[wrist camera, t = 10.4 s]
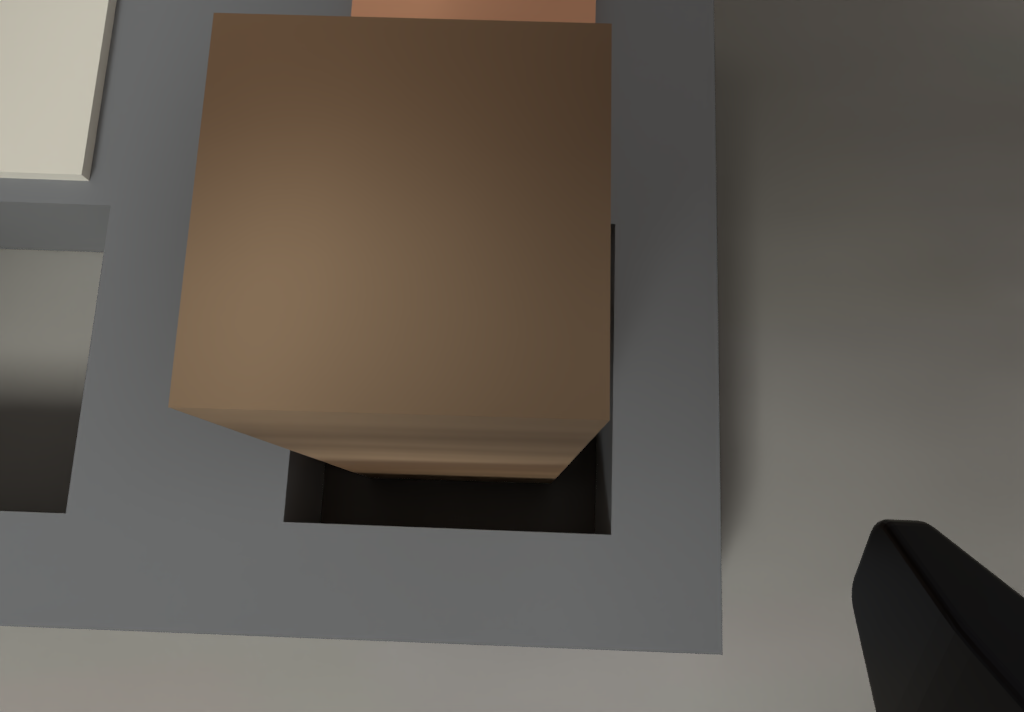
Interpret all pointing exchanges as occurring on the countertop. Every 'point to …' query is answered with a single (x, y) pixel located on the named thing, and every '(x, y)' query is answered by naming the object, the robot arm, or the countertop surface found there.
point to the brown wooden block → (402, 243)
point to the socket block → (300, 479)
